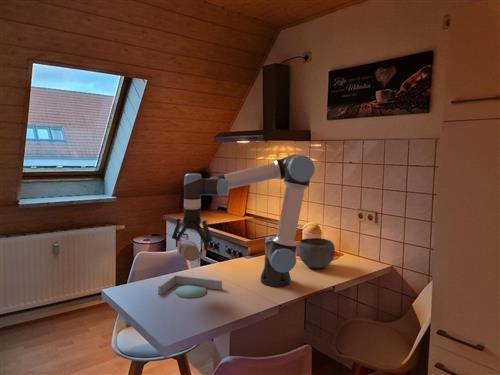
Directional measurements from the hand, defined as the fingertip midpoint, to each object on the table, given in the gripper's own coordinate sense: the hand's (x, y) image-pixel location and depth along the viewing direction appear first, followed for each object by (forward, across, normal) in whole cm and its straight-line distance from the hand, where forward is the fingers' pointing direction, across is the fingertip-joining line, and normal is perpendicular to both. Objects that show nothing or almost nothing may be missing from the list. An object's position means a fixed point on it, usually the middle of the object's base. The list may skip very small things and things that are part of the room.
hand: (191, 255), depth 172 cm
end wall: (+17, +12, 0) cm, 21 cm away
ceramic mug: (+2, 0, -1) cm, 2 cm away
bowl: (+17, -51, -59) cm, 80 cm away
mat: (+17, 0, 0) cm, 17 cm away
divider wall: (+17, 0, -8) cm, 19 cm away
